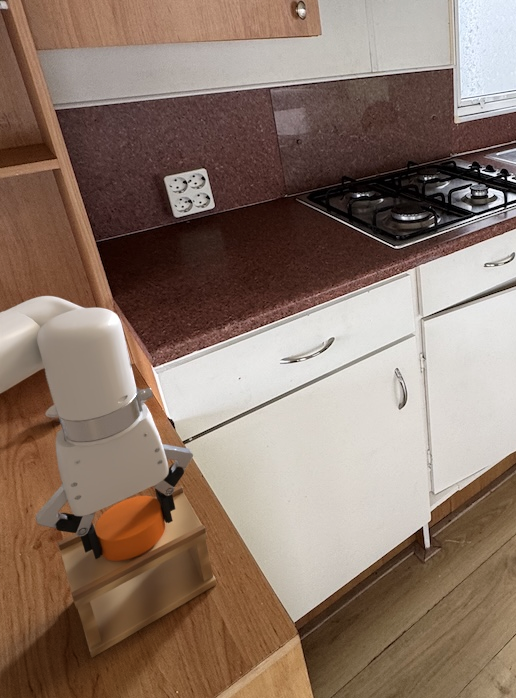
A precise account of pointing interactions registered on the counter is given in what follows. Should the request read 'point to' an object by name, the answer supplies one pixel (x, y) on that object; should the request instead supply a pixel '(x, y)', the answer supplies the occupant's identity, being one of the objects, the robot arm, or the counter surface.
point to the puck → (130, 528)
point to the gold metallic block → (138, 579)
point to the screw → (52, 410)
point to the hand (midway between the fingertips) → (132, 532)
